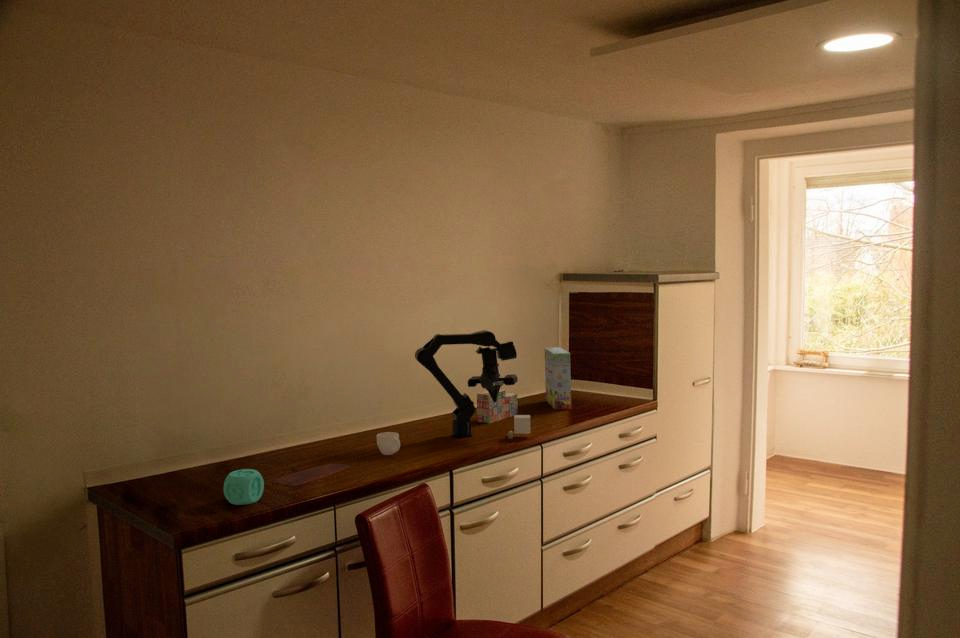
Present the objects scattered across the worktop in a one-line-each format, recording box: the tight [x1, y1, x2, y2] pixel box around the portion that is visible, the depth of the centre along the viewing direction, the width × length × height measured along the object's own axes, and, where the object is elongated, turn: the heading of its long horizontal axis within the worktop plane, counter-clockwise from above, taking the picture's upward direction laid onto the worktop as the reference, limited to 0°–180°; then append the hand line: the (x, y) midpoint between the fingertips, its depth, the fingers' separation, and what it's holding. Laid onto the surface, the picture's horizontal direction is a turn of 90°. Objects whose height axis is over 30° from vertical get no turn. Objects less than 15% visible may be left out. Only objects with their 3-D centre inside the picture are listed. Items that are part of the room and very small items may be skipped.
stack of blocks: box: [476, 389, 519, 424], centre depth 316 cm, size 21×6×12 cm, turn 143°
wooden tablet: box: [273, 463, 351, 488], centre depth 235 cm, size 27×10×2 cm, turn 148°
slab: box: [513, 414, 531, 435], centre depth 281 cm, size 6×5×6 cm
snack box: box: [543, 346, 572, 411], centre depth 343 cm, size 22×9×26 cm, turn 6°
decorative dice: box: [223, 468, 265, 506], centre depth 210 cm, size 8×8×8 cm
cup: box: [376, 431, 401, 456], centre depth 259 cm, size 8×10×7 cm
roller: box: [507, 430, 514, 440], centre depth 282 cm, size 6×2×2 cm
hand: (495, 402), depth 288 cm, fingers closed
